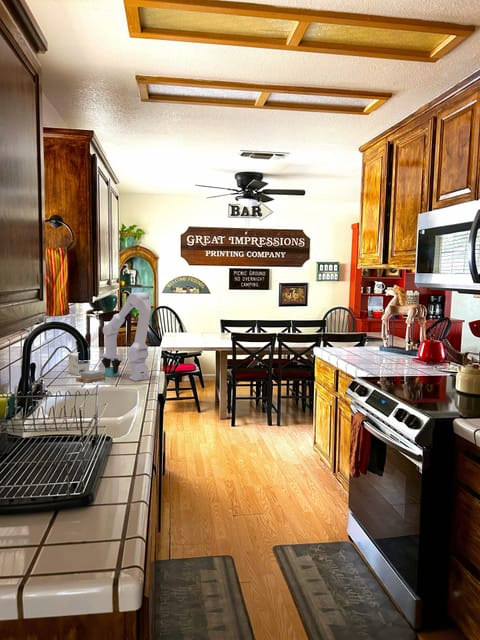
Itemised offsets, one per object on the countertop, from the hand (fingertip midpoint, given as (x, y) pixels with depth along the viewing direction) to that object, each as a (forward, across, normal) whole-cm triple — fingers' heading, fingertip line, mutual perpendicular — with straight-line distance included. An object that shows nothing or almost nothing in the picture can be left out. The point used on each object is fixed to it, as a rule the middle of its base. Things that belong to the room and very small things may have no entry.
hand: (111, 372), depth 254 cm
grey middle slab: (0, -1, +14) cm, 15 cm away
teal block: (+1, 0, 0) cm, 1 cm away
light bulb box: (+2, +19, +5) cm, 20 cm away
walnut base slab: (+2, -1, +15) cm, 15 cm away
